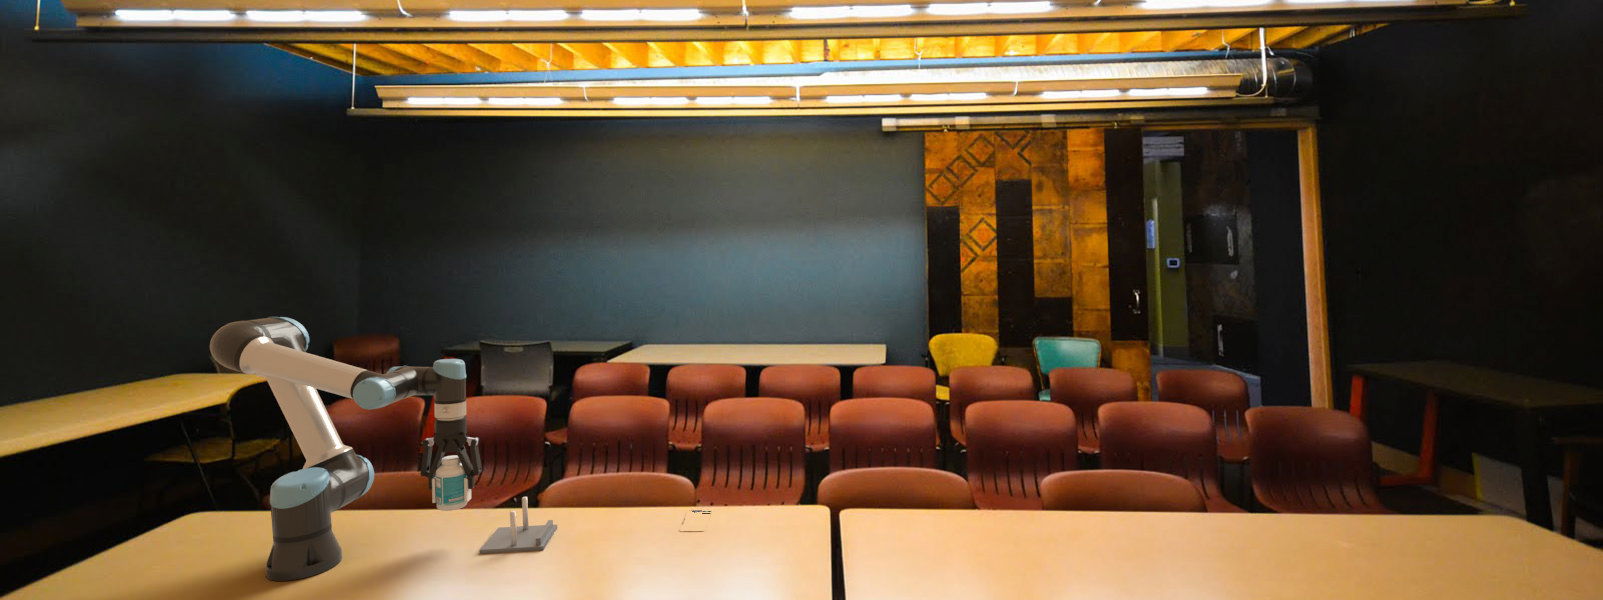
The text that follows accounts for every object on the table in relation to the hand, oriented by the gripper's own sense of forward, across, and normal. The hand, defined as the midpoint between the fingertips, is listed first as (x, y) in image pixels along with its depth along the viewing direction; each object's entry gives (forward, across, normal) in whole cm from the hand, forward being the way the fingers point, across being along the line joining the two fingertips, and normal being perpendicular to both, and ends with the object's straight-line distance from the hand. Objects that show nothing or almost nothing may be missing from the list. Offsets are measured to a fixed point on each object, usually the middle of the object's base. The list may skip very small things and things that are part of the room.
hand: (452, 500), depth 175 cm
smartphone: (+10, +65, +6) cm, 66 cm away
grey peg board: (+11, +18, -1) cm, 21 cm away
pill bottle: (+2, 0, 0) cm, 2 cm away
